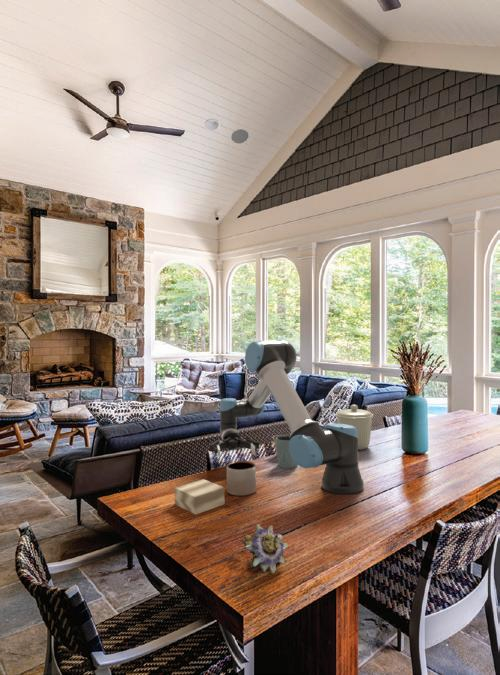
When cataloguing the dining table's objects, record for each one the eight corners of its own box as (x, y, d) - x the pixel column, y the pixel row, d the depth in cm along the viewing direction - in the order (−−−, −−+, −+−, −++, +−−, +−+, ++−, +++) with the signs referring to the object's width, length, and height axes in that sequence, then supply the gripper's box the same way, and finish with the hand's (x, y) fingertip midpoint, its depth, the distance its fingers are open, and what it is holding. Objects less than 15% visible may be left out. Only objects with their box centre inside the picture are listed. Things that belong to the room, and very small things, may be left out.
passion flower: (272, 594, 107) (257, 568, 101) (242, 569, 115) (226, 544, 109) (300, 555, 113) (287, 529, 107) (269, 534, 121) (255, 508, 114)
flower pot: (292, 459, 201) (291, 440, 200) (271, 458, 202) (271, 439, 202) (294, 453, 210) (293, 435, 210) (274, 452, 212) (274, 434, 211)
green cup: (273, 467, 189) (272, 439, 189) (280, 460, 198) (280, 434, 198) (296, 469, 185) (295, 441, 185) (302, 462, 194) (302, 435, 194)
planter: (260, 487, 165) (259, 462, 165) (250, 498, 155) (250, 470, 155) (233, 484, 169) (232, 459, 169) (222, 495, 158) (221, 468, 158)
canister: (345, 441, 230) (344, 400, 229) (379, 445, 219) (378, 403, 219) (329, 449, 215) (328, 406, 215) (365, 454, 204) (364, 409, 204)
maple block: (224, 505, 150) (224, 487, 150) (195, 515, 142) (194, 496, 142) (203, 495, 159) (203, 479, 159) (175, 505, 151) (174, 487, 151)
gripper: (259, 445, 195) (268, 459, 174) (202, 448, 191) (204, 463, 170) (259, 428, 194) (268, 440, 173) (201, 431, 191) (204, 444, 170)
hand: (236, 452), depth 172 cm, fingers open, 13 cm apart
